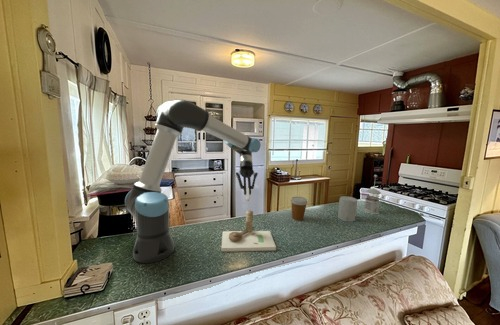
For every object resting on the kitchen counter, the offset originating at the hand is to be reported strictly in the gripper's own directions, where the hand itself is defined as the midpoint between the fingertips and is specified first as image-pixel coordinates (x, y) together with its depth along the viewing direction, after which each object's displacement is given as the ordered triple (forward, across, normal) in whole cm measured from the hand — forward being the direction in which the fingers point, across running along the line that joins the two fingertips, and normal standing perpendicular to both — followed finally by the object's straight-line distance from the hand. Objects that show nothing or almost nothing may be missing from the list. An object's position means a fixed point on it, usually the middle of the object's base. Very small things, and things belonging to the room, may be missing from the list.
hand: (247, 199), depth 107 cm
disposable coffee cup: (+6, +30, +14) cm, 34 cm away
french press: (0, +83, +20) cm, 86 cm away
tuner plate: (+22, -1, -3) cm, 23 cm away
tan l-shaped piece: (+19, -3, -3) cm, 19 cm away
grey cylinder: (+6, +60, +14) cm, 62 cm away
